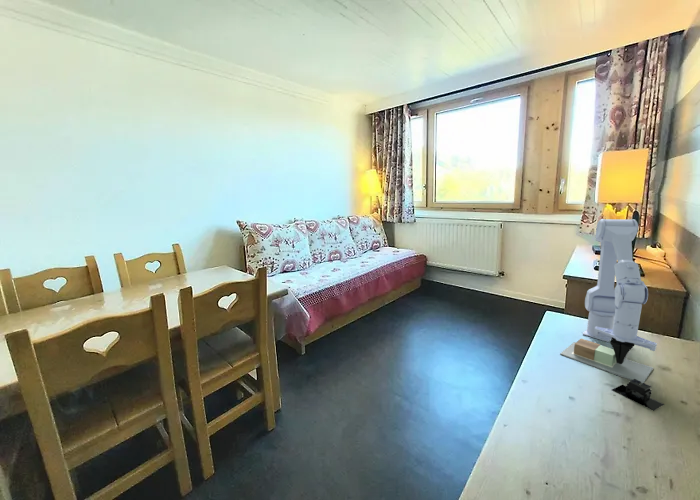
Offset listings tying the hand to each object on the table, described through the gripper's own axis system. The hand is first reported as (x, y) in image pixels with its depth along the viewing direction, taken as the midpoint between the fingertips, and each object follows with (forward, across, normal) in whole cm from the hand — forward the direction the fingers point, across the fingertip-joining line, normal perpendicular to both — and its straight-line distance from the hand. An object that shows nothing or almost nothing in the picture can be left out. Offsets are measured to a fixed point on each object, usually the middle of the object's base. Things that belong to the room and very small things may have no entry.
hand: (619, 362), depth 99 cm
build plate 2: (+2, +7, -14) cm, 16 cm away
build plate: (+1, -4, 0) cm, 4 cm away
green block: (+1, -4, 0) cm, 4 cm away
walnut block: (+1, -9, 0) cm, 9 cm away
